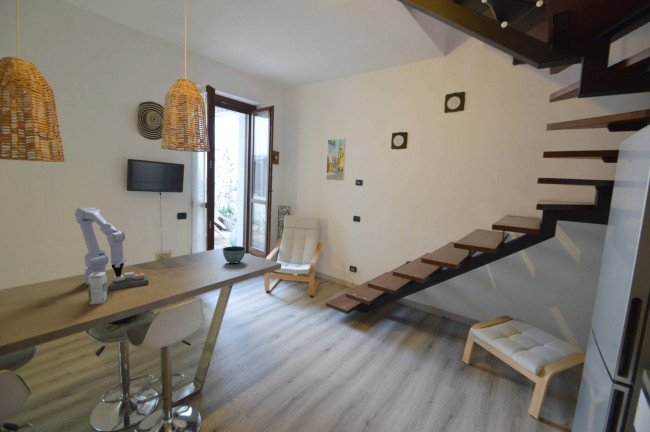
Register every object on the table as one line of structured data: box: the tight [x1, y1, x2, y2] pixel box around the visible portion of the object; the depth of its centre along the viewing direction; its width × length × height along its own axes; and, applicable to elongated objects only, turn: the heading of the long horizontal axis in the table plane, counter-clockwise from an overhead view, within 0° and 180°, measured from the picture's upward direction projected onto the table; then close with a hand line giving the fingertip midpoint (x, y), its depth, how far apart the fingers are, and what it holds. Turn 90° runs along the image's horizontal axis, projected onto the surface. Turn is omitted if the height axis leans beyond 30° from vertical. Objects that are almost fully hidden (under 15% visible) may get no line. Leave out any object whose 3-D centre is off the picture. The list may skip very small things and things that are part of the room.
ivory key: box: [113, 274, 124, 283], centre depth 161 cm, size 4×4×5 cm
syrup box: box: [87, 271, 108, 305], centre depth 140 cm, size 6×6×14 cm
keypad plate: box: [109, 274, 149, 291], centre depth 164 cm, size 18×10×2 cm, turn 125°
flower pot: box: [222, 245, 246, 263], centre depth 211 cm, size 16×16×11 cm
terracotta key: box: [134, 272, 145, 280], centre depth 167 cm, size 4×4×5 cm
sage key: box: [123, 271, 135, 282], centre depth 164 cm, size 4×4×5 cm
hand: (118, 276), depth 160 cm, fingers closed, pressing on ivory key
